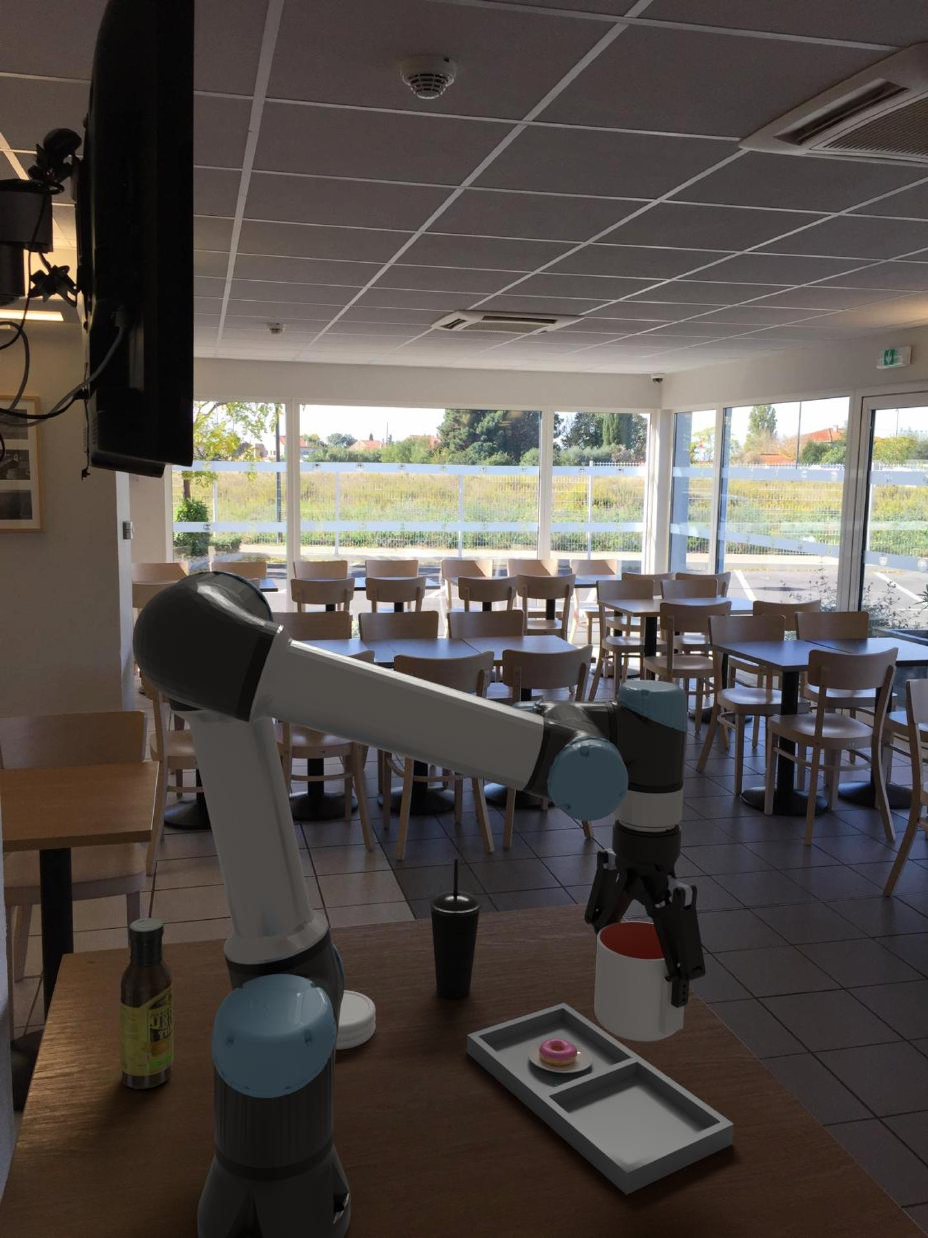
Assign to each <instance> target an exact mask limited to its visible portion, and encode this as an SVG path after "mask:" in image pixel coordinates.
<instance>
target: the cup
mask: <svg viewBox="0 0 928 1238" xmlns="http://www.w3.org/2000/svg"><path fill="white" fill-rule="evenodd" d="M596 938H597V951H596V950H595V958H596V959H595V979H594V999H593V1000H594V1003H593V1004H594V1005H593V1008H594V1014H595V1017H596V1020H597V1021H598V1022H599V1024H600V1025H601V1026H602V1027H603V1028H604V1029H605V1030H607V1031H608V1032H610V1033H611V1034H613V1035H614V1036H618V1037H619V1038H622V1039H626V1040H629V1041H634V1042H657V1041H661V1040H664V1039H666V1038H669V1037H670V1036H673V1035H674V1034H675V1033H677V1031H674V1032H672V1033H669V1034H666V1035H664V1034H663V1033H661V1032H660V1025H661V1005H662V985H663V976H664V975H667V974H669V973H668V969H667V966H666V963H665V959H664V956H663V953H662V950H661V946H660V943H659V940H658V936H657V933H656V930H655V927H654V923H652V922H648V921H646V922H645V921H640V920H639V921H638V920H637V921H636V920H633V921H632V920H631V921H630V920H629V921H620V922H618V923H614V924H611V925H608V926H606V927H604V928H603V929H601V930H600V931H599V933H598V935H597V934H596ZM679 966H680V963H679V964H678V967H679Z"/></svg>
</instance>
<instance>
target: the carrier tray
mask: <svg viewBox="0 0 928 1238" xmlns="http://www.w3.org/2000/svg"><path fill="white" fill-rule="evenodd" d="M466 1039H467V1043H466V1053H467V1054H468V1055H469V1056H470V1057H471V1058H472V1059H473V1060H474V1061H476V1062H477V1063H478V1064H479V1065H481V1067H483V1069H485V1070H486V1071H487V1072H488V1073H489V1074H490V1075H492V1076H493V1078H495V1079H496V1080H497V1081H498V1082H499V1083H500V1084H502V1085H503V1086H504V1087H505V1088H506V1089H507V1090H509V1092H510V1093H512V1095H514V1096H515V1097H517V1098H518V1100H519V1101H520V1102H522V1103H523V1104H524V1105H525V1106H526V1107H527V1108H528V1109H529V1110H531V1111H532V1112H533V1113H534V1114H535V1115H536V1116H537V1117H539V1118H540V1119H541V1120H542V1121H543V1122H544V1123H545V1124H546V1125H547V1126H549V1127H550V1128H551V1130H553V1131H554V1132H556V1134H557V1135H558V1136H560V1137H561V1138H562V1139H563V1140H564V1141H566V1142H567V1144H568V1145H570V1146H571V1147H572V1148H573V1149H574V1150H576V1152H578V1153H579V1154H580V1155H581V1156H582V1157H583V1158H584V1159H586V1160H587V1162H589V1163H590V1164H591V1165H592V1166H593V1167H594V1168H596V1169H597V1170H598V1171H599V1172H600V1173H601V1174H603V1175H604V1177H606V1178H607V1179H608V1180H609V1181H610V1182H612V1183H613V1184H614V1185H615V1187H617V1188H618V1189H619V1190H620V1191H621V1192H622V1193H623V1194H624V1195H626V1196H627V1195H629V1194H631V1193H633V1192H635V1191H637V1190H640V1189H641V1188H643V1187H646V1186H648V1185H650V1184H652V1183H655V1182H656V1181H658V1180H660V1179H662V1178H664V1177H667V1176H669V1175H671V1174H673V1173H676V1172H677V1171H679V1170H682V1169H683V1168H685V1167H688V1166H690V1165H692V1164H694V1163H696V1162H698V1161H700V1160H702V1159H705V1158H706V1157H709V1156H711V1155H713V1154H715V1153H717V1152H719V1151H721V1150H723V1149H726V1148H727V1147H730V1146H731V1145H733V1144H734V1142H733V1141H734V1131H735V1128H734V1127H735V1124H734V1123H733V1122H732V1121H731V1120H729V1119H727V1117H725V1116H723V1115H722V1114H721V1113H719V1112H718V1111H717V1110H715V1109H713V1107H711V1106H710V1105H708V1104H707V1103H706V1102H704V1101H703V1100H701V1099H699V1097H697V1096H695V1095H694V1094H692V1092H690V1091H689V1090H687V1089H686V1088H684V1087H683V1086H682V1085H680V1084H678V1083H677V1082H676V1081H675V1080H673V1079H672V1078H670V1077H669V1076H667V1075H666V1074H664V1073H663V1072H662V1071H661V1070H659V1069H658V1068H657V1067H655V1066H654V1065H652V1064H650V1063H649V1062H648V1061H647V1060H645V1059H644V1058H642V1057H641V1056H640V1055H638V1054H637V1053H635V1052H634V1051H633V1050H631V1049H630V1048H628V1047H627V1046H626V1045H624V1044H622V1042H620V1041H618V1040H617V1039H615V1037H613V1036H611V1035H610V1034H608V1033H607V1032H606V1031H605V1030H604V1029H602V1028H600V1027H599V1026H597V1024H595V1023H593V1022H592V1021H591V1020H589V1019H588V1018H586V1017H585V1016H584V1015H582V1014H580V1013H579V1012H578V1011H577V1010H576V1009H574V1008H573V1007H571V1006H570V1005H568V1004H567V1003H565V1002H562V1003H559V1004H556V1005H554V1006H553V1005H552V1006H551V1007H547V1008H544V1009H541V1010H538V1011H536V1012H532V1013H529V1014H526V1015H522V1016H520V1017H516V1018H514V1019H511V1020H507V1021H504V1022H502V1023H498V1024H495V1025H492V1026H490V1027H487V1028H483V1029H480V1030H477V1031H474V1032H472V1033H468V1034H467V1037H466ZM549 1039H562V1040H565V1041H567V1042H569V1043H572V1044H575V1045H578V1046H580V1047H583V1048H584V1049H586V1050H587V1051H588V1052H589V1053H590V1054H591V1055H592V1057H593V1063H592V1064H591V1066H590V1067H588V1068H587V1069H585V1070H582V1071H579V1072H574V1073H557V1072H552V1071H548V1070H545V1069H542V1068H540V1067H538V1066H536V1065H535V1064H534V1063H532V1062H531V1060H530V1059H529V1057H528V1052H529V1050H530V1049H531V1047H533V1046H534V1045H537V1044H539V1043H543V1042H545V1041H547V1040H549ZM555 1084H557V1085H558V1086H557V1087H555Z"/></svg>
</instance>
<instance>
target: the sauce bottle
mask: <svg viewBox="0 0 928 1238" xmlns="http://www.w3.org/2000/svg"><path fill="white" fill-rule="evenodd" d="M128 929H129V930H128V936H129V939H130V955H129V959H130V960H129V961H130V963H128V965H127V967H126V969H124V971H123V974H122V975H121V980H120V998H119V1015H120V1016H119V1020H120V1021H119V1024H120V1025H119V1027H120V1028H119V1029H120V1030H119V1032H120V1035H119V1036H120V1042H119V1043H120V1045H119V1047H120V1048H119V1049H120V1050H119V1051H120V1058H119V1059H120V1069H121V1079H122V1083H123V1084H124V1086H127V1087H128V1088H132V1089H135V1090H136V1089H138V1090H139V1089H140V1090H143V1089H144V1090H146V1089H150V1088H151V1089H152V1088H155V1087H157V1086H159V1085H161V1084H163V1083H164V1082H166V1081H168V1080H169V1079H170V1078H171V1076H172V1072H173V1062H174V981H173V974H172V973H173V972H172V971H171V969H170V967H169V966H168V964H167V963H166V962H165V960H164V959H163V958H164V951H163V936H164V933H165V925H164V923H163V920H161V919H158V918H152V917H145V918H140V919H136V920H134V921H132V923H130V924H129V926H128Z"/></svg>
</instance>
